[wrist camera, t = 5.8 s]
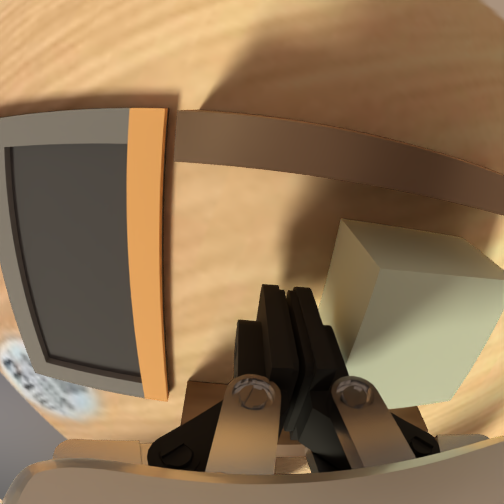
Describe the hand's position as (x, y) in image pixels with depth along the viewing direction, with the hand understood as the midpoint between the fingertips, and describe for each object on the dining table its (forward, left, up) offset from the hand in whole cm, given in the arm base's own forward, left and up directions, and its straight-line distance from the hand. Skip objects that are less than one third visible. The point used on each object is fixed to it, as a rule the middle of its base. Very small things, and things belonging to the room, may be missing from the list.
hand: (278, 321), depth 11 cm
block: (-5, 0, -2) cm, 5 cm away
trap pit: (+8, 0, -2) cm, 9 cm away
